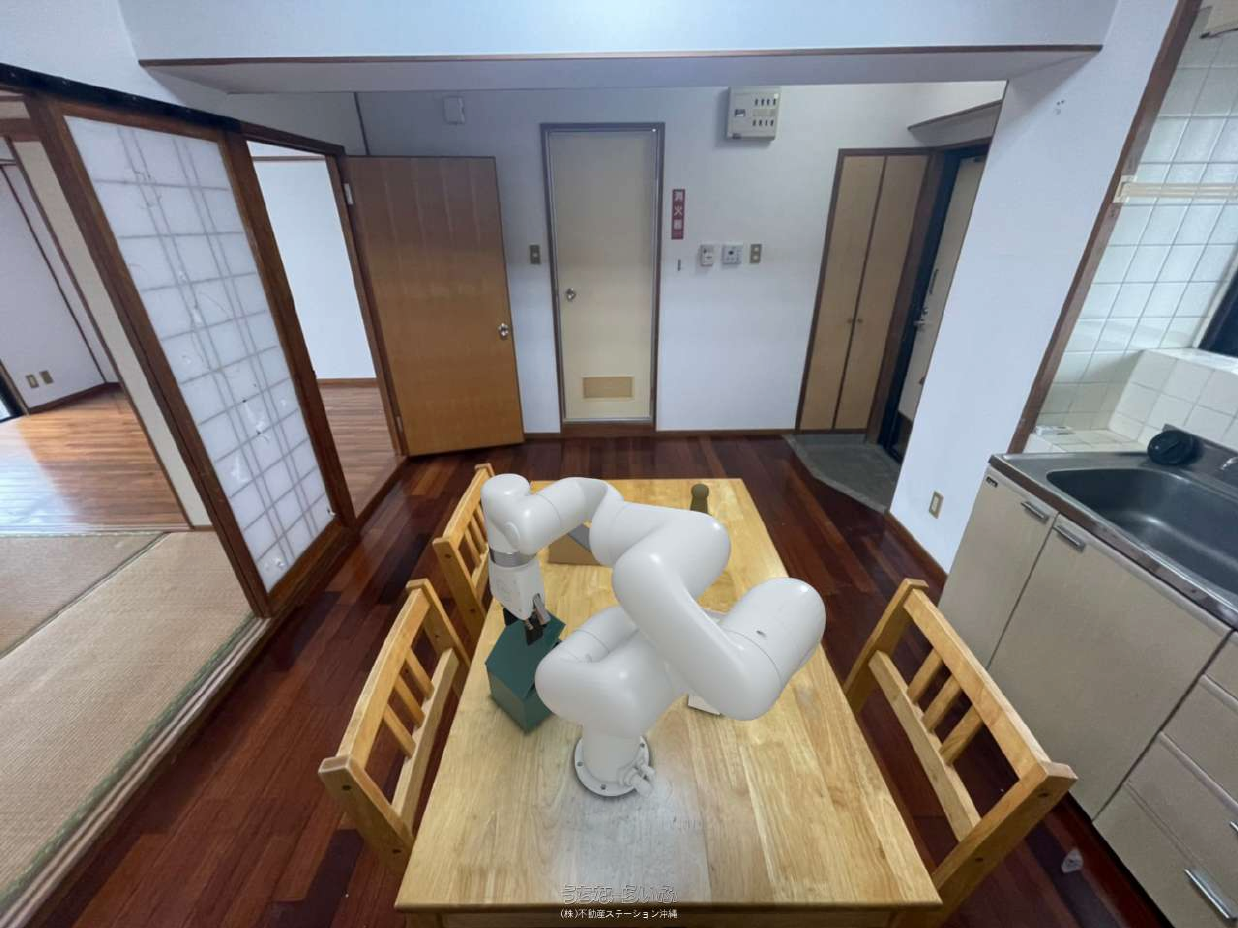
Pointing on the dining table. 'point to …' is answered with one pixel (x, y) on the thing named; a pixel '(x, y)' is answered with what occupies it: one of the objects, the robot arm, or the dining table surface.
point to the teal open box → (519, 701)
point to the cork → (699, 498)
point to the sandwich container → (573, 548)
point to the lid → (522, 654)
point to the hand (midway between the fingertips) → (523, 629)
